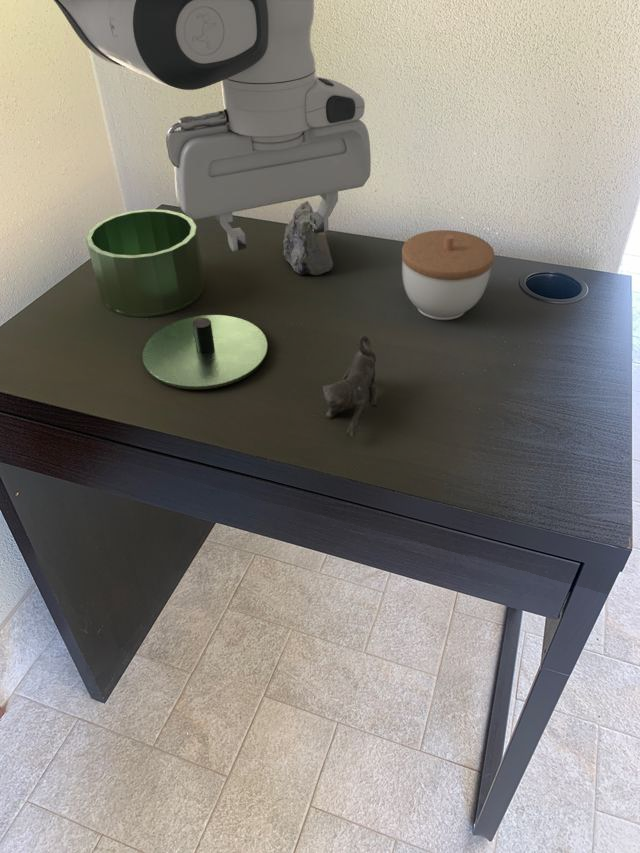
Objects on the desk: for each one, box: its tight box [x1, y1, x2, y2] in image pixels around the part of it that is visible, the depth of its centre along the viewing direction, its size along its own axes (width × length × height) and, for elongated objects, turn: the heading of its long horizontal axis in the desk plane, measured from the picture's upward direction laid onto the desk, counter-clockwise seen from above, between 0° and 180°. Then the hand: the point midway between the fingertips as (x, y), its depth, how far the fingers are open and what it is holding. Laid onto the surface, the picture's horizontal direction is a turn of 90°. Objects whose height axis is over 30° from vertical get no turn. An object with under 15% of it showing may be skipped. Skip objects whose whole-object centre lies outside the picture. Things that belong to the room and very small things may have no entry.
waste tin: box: [85, 208, 205, 318], centre depth 102 cm, size 16×16×10 cm
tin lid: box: [142, 314, 269, 390], centre depth 90 cm, size 17×17×5 cm
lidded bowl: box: [401, 229, 495, 321], centre depth 97 cm, size 13×13×11 cm
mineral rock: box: [282, 200, 334, 276], centre depth 109 cm, size 13×11×10 cm
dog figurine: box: [322, 334, 378, 437], centre depth 81 cm, size 12×6×7 cm, turn 159°
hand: (279, 239), depth 74 cm, fingers open, 8 cm apart
